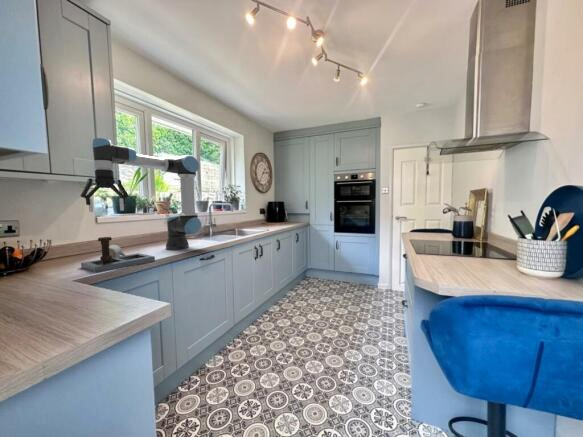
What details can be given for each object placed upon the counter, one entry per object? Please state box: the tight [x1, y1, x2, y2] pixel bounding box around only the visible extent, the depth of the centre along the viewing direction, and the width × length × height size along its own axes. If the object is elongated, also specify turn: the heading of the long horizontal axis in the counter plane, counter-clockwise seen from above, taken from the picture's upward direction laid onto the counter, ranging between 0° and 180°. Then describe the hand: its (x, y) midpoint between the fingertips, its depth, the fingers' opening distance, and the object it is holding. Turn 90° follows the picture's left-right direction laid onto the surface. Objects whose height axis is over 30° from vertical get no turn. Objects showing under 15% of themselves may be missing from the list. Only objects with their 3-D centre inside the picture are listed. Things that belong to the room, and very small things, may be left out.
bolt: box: [97, 236, 112, 264], centre depth 124 cm, size 6×5×15 cm
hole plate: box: [80, 252, 156, 274], centre depth 129 cm, size 27×19×2 cm
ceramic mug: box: [109, 244, 126, 257], centre depth 144 cm, size 11×8×8 cm
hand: (107, 211), depth 126 cm, fingers open, 13 cm apart
